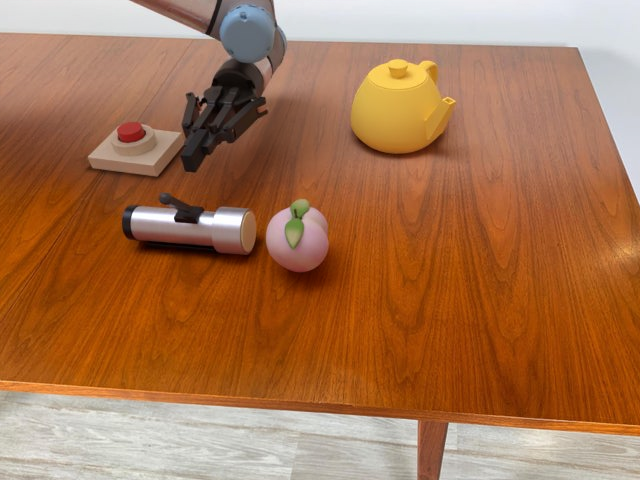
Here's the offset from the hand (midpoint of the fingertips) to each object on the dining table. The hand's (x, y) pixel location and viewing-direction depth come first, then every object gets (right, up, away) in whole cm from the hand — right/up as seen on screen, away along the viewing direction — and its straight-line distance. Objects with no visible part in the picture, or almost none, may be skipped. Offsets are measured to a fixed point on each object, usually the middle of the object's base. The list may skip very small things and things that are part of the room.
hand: (188, 164), depth 78 cm
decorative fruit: (+15, -14, +2) cm, 21 cm away
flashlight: (-1, -10, +6) cm, 12 cm away
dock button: (-16, +8, +19) cm, 26 cm away
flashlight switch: (0, -6, +1) cm, 6 cm away
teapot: (+31, +11, +25) cm, 41 cm away
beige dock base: (-15, +6, +21) cm, 27 cm away
